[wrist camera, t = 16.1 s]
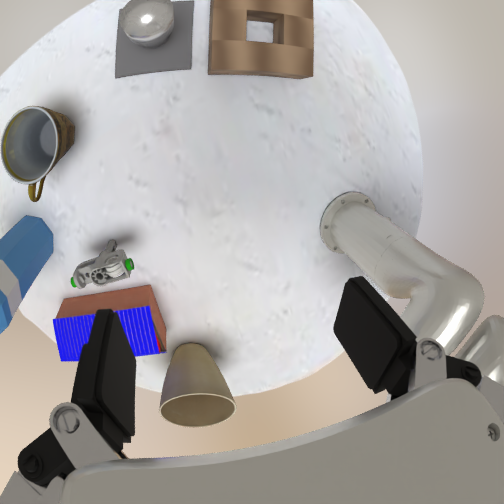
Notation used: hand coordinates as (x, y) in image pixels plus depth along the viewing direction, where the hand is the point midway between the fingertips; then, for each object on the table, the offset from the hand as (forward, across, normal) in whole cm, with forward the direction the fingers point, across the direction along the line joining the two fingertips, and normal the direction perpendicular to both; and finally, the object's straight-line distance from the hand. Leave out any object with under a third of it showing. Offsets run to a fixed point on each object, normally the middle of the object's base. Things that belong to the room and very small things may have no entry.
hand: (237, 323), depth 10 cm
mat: (+33, +6, -20) cm, 40 cm away
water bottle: (+34, +31, +9) cm, 47 cm away
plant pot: (+34, +5, +41) cm, 53 cm away
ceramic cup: (+34, +22, -6) cm, 41 cm away
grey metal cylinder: (+33, +6, -20) cm, 39 cm away
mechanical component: (+34, +15, +12) cm, 39 cm away
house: (+34, +19, +27) cm, 47 cm away
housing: (+33, -9, -20) cm, 40 cm away
